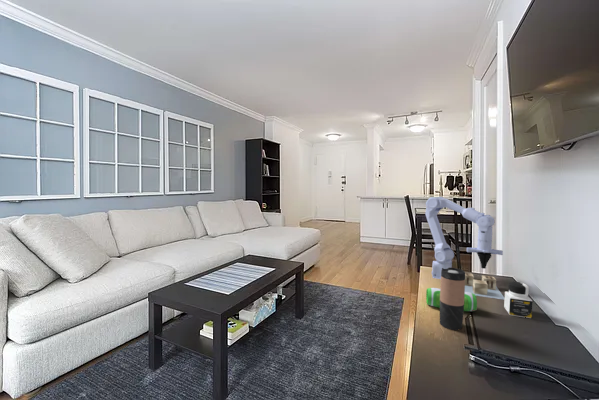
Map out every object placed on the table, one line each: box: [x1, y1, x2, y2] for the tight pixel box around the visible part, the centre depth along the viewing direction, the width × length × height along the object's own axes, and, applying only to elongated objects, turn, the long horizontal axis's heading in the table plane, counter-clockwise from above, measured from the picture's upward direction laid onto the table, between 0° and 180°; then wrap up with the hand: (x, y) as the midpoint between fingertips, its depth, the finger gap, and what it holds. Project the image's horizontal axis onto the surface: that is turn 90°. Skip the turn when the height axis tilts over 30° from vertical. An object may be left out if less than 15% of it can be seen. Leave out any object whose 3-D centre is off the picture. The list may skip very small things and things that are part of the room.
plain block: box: [473, 278, 488, 295], centre depth 131 cm, size 5×5×5 cm
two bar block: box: [481, 275, 497, 290], centre depth 137 cm, size 5×5×5 cm
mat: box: [465, 286, 505, 300], centre depth 135 cm, size 16×20×1 cm
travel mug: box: [439, 267, 466, 331], centre depth 101 cm, size 8×8×20 cm
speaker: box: [425, 287, 478, 312], centre depth 115 cm, size 18×7×8 cm, turn 71°
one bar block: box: [465, 272, 475, 286], centre depth 142 cm, size 5×5×5 cm
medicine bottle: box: [503, 281, 533, 319], centre depth 111 cm, size 7×7×12 cm
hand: (483, 268), depth 137 cm, fingers closed
